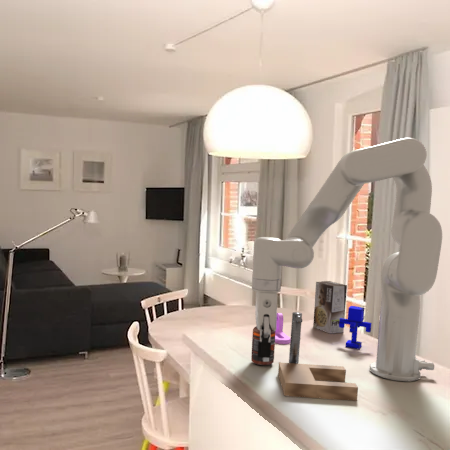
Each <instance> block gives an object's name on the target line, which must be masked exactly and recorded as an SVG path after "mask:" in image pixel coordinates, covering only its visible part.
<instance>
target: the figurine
mask: <svg viewBox="0 0 450 450" xmlns="http://www.w3.org/2000/svg"><path fill="white" fill-rule="evenodd" d="M364 318H365V307H364V306H363V307H362V306H356V305H350V306H349V307H348V310H347V318H345V319H344V318H340V322H339V327H340V328H345V325H349V333H351V339H347V341H346V342H345V348H349V349H355V350H360V349H361V347H362V343H363V342H362V341H358V340H357V339H358V328H361V327H362V328H365V332H366V333H371V331H372V322H368V321H364Z"/></svg>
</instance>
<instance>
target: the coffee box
mask: <svg viewBox="0 0 450 450" xmlns="http://www.w3.org/2000/svg"><path fill="white" fill-rule="evenodd" d="M347 289H348V285H347V284H343V283H340V282H335V281H331V280H324V281H315V294H314V307H313V308H314V309H313V310H314V311H313V322H312V323H313V324H312V325H313V326H312V327H313V328H315V329H317V330H319V329H320V331H322V330H323V332H325V331H326V333H328V334H339V333H344V328H345V327H344V328H340V327H339V322H340V318H344V319H346V318H345V317H346V316H345V315H346V303H347V301H346V300H347V293H348V292H347Z"/></svg>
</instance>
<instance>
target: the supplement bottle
mask: <svg viewBox="0 0 450 450" xmlns="http://www.w3.org/2000/svg"><path fill="white" fill-rule="evenodd" d="M263 321H264V318H263ZM261 329H264V327H262V328H261ZM263 333H264V332H262V334H263ZM251 337H252V338H251V339H252V340H251V341H252V342H251V356H250V358H251V362H252V363H254V364H255V365H259V366H269V365H273V363H274V361H275V348H276V347H275V345H276V343H275V331H273V330H272V328H271V341H270V342H271V353H270V358H264V357H258V341H259V340H260V331H259V330H258V329H257V325H256V326H254V327H253V329H252V336H251Z"/></svg>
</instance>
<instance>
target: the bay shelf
mask: <svg viewBox="0 0 450 450" xmlns="http://www.w3.org/2000/svg"><path fill="white" fill-rule="evenodd" d="M277 371H278V372H277V375H278V379H279V383H280V385H281V389H282V392H283V396H284V397H292V398H308V399H309V398H310V399H321V400H322V399H323V400H338V401H339V400H340V401H354V402H357V401H358V392H359V387H358V386H357V383H355V382H354V383H353V382H346V372H347V369H346V368H345V367H344V366H338V365H325V364H311V363H309V364H308V363H298V364H296V363H289V362H281V361H280V362H278V370H277Z"/></svg>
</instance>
